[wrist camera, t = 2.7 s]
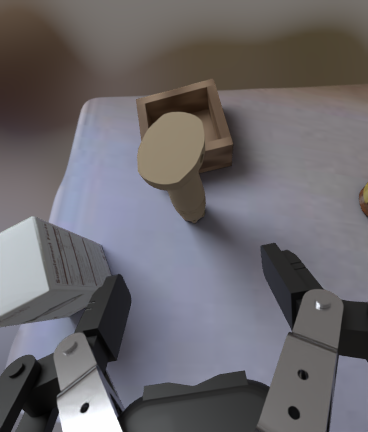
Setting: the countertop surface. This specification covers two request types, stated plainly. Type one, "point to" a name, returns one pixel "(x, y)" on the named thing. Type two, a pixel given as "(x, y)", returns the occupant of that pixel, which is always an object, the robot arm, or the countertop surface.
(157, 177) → the handle
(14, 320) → the supplement box
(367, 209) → the sauce bottle
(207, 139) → the open wooden box
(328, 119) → the countertop surface
